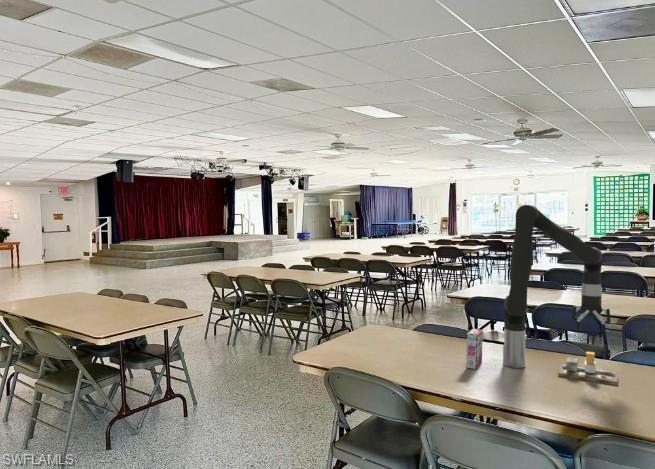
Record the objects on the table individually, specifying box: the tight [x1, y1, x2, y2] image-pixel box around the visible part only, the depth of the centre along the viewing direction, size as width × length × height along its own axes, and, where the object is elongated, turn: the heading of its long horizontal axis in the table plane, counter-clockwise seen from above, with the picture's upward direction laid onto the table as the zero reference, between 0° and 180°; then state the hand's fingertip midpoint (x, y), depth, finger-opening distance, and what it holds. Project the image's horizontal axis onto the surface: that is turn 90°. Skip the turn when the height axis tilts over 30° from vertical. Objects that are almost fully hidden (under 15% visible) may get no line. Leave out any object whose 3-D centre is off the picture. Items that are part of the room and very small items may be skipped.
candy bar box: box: [465, 328, 484, 371], centre depth 220 cm, size 11×5×16 cm, turn 149°
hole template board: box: [557, 357, 618, 386], centre depth 204 cm, size 22×10×6 cm, turn 59°
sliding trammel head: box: [584, 351, 597, 374], centre depth 204 cm, size 4×6×9 cm, turn 149°
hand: (590, 331), depth 203 cm, fingers open, 8 cm apart
